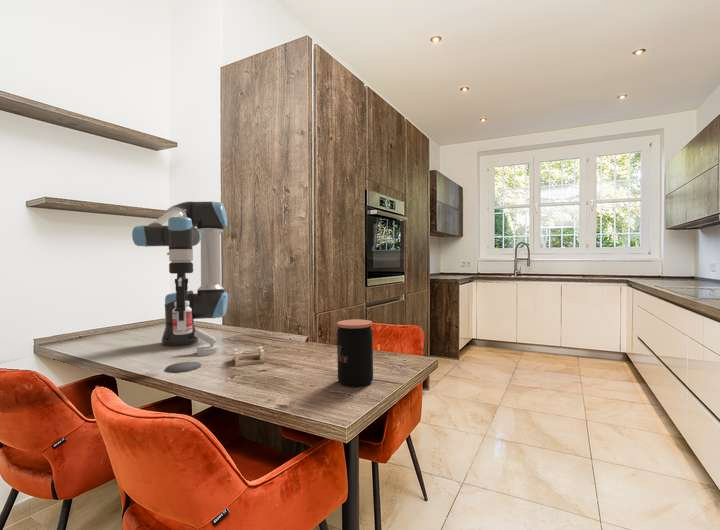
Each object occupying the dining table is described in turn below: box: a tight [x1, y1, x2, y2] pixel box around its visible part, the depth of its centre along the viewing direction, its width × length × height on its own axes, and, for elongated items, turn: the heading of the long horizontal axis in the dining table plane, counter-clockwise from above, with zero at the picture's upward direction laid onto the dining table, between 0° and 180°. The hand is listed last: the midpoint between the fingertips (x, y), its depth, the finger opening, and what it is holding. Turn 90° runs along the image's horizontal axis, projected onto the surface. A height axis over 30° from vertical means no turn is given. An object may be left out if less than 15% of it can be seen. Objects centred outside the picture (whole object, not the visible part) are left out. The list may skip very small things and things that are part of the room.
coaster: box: [165, 361, 202, 373], centre depth 133 cm, size 11×11×1 cm
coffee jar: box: [336, 318, 374, 388], centre depth 115 cm, size 11×11×18 cm
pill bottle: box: [172, 301, 192, 335], centre depth 133 cm, size 6×6×11 cm
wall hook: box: [194, 328, 221, 357], centre depth 154 cm, size 9×10×10 cm
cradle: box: [233, 346, 266, 367], centre depth 141 cm, size 10×10×4 cm
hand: (182, 328), depth 133 cm, fingers closed on pill bottle, 6 cm apart
